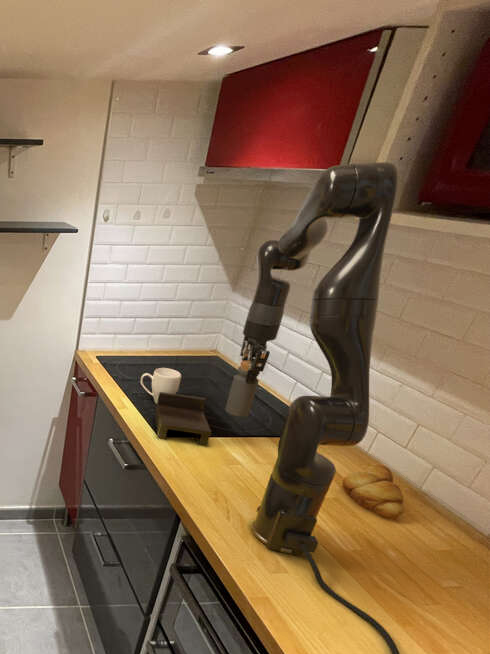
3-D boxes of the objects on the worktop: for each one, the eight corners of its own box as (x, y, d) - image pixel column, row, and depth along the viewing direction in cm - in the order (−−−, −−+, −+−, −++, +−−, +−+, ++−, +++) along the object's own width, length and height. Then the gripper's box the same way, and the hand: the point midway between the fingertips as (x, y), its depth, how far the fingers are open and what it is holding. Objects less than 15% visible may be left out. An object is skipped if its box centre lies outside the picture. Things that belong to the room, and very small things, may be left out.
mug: (173, 400, 155) (180, 369, 150) (175, 410, 148) (182, 379, 143) (137, 394, 159) (142, 364, 154) (136, 403, 152) (142, 373, 147)
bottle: (251, 418, 124) (267, 368, 118) (229, 415, 125) (243, 366, 119) (243, 408, 129) (258, 360, 123) (222, 406, 130) (235, 358, 124)
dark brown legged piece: (207, 447, 127) (215, 419, 124) (158, 439, 131) (164, 412, 127) (198, 424, 139) (205, 398, 136) (153, 417, 143) (159, 391, 139)
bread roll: (411, 525, 99) (427, 496, 96) (361, 518, 101) (375, 489, 98) (375, 489, 111) (388, 462, 108) (331, 483, 113) (342, 456, 110)
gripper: (240, 311, 124) (225, 367, 130) (255, 325, 111) (237, 386, 117) (271, 314, 122) (254, 370, 128) (290, 328, 109) (270, 391, 115)
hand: (246, 378), depth 123 cm, fingers closed on bottle, 5 cm apart
